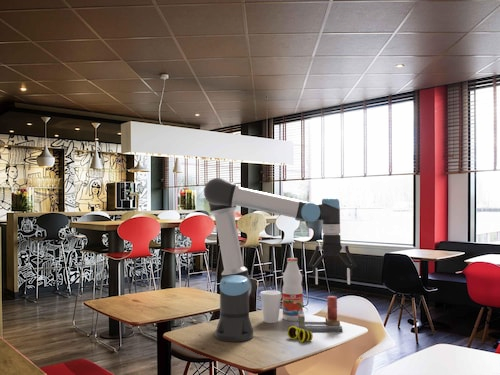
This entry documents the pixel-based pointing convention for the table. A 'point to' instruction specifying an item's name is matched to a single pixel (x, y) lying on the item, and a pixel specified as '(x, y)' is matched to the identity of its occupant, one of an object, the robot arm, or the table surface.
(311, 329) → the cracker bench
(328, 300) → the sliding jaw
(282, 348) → the table surface
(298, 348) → the table surface
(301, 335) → the opera glasses
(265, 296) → the foam cup
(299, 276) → the fruit juice
